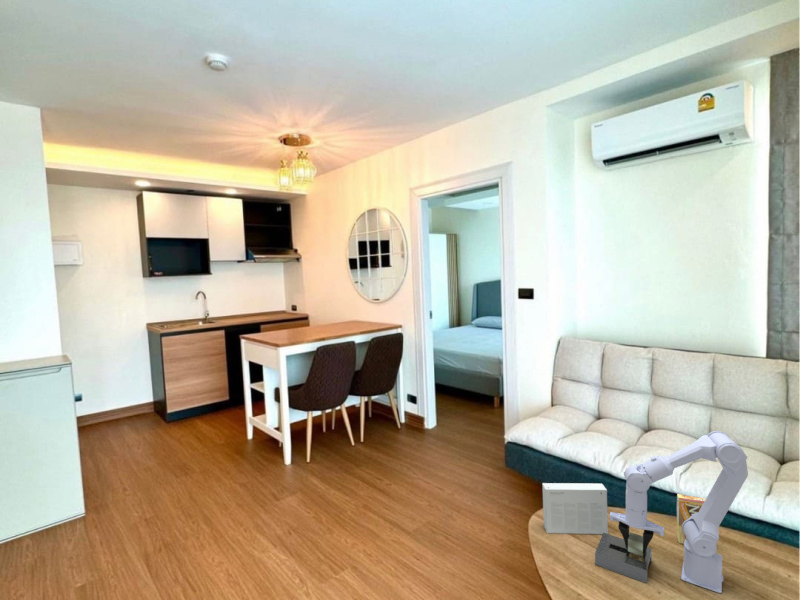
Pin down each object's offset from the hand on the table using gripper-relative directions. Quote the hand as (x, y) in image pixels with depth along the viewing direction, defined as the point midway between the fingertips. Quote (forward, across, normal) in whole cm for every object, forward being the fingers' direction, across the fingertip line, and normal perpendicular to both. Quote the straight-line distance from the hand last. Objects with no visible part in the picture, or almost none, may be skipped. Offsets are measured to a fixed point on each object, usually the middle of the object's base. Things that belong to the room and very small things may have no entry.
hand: (636, 549), depth 129 cm
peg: (+4, 0, 0) cm, 4 cm away
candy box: (+6, -14, -23) cm, 27 cm away
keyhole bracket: (+6, +4, 0) cm, 7 cm away
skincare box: (+6, +20, -9) cm, 23 cm away
